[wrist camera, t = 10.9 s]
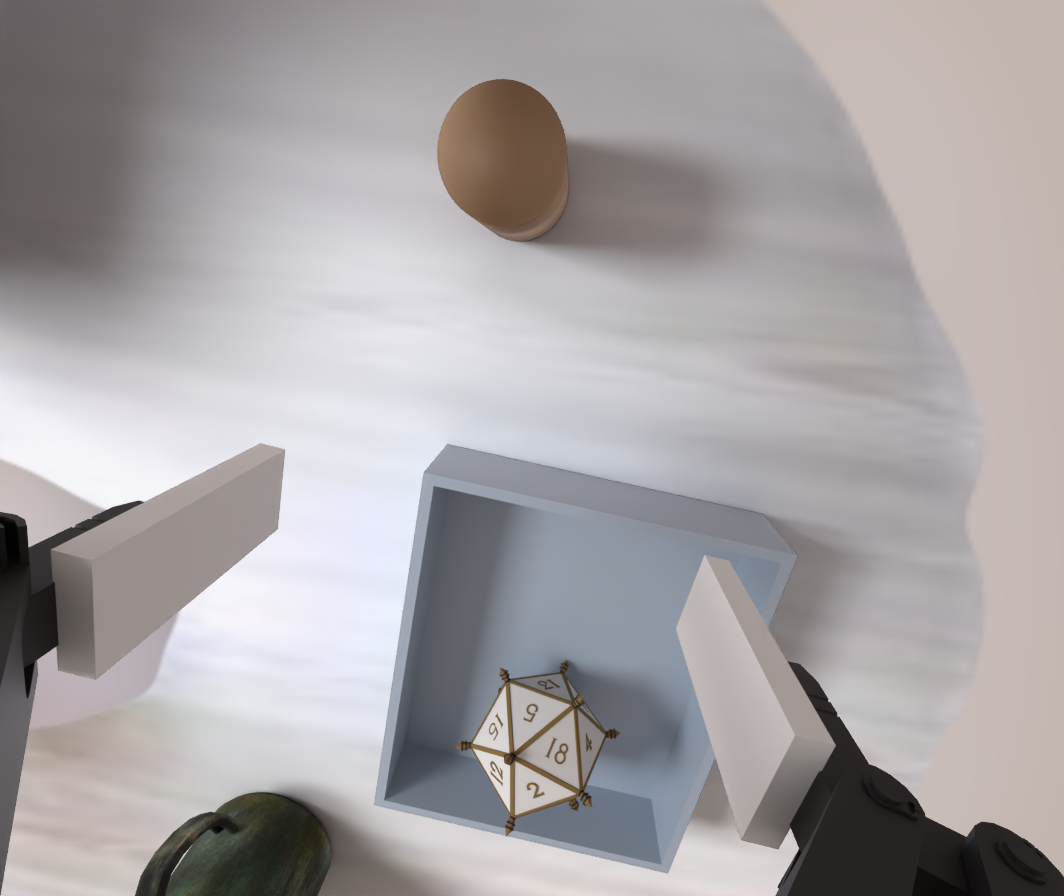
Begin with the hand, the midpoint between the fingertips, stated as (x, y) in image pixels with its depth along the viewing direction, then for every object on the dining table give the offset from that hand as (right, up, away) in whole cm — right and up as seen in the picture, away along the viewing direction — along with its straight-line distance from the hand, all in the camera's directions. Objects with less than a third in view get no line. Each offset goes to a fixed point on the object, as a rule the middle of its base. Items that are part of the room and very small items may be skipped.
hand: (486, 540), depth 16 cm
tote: (+3, -10, +18) cm, 21 cm away
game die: (+2, -13, +19) cm, 24 cm away
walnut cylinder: (+1, +16, +11) cm, 19 cm away
